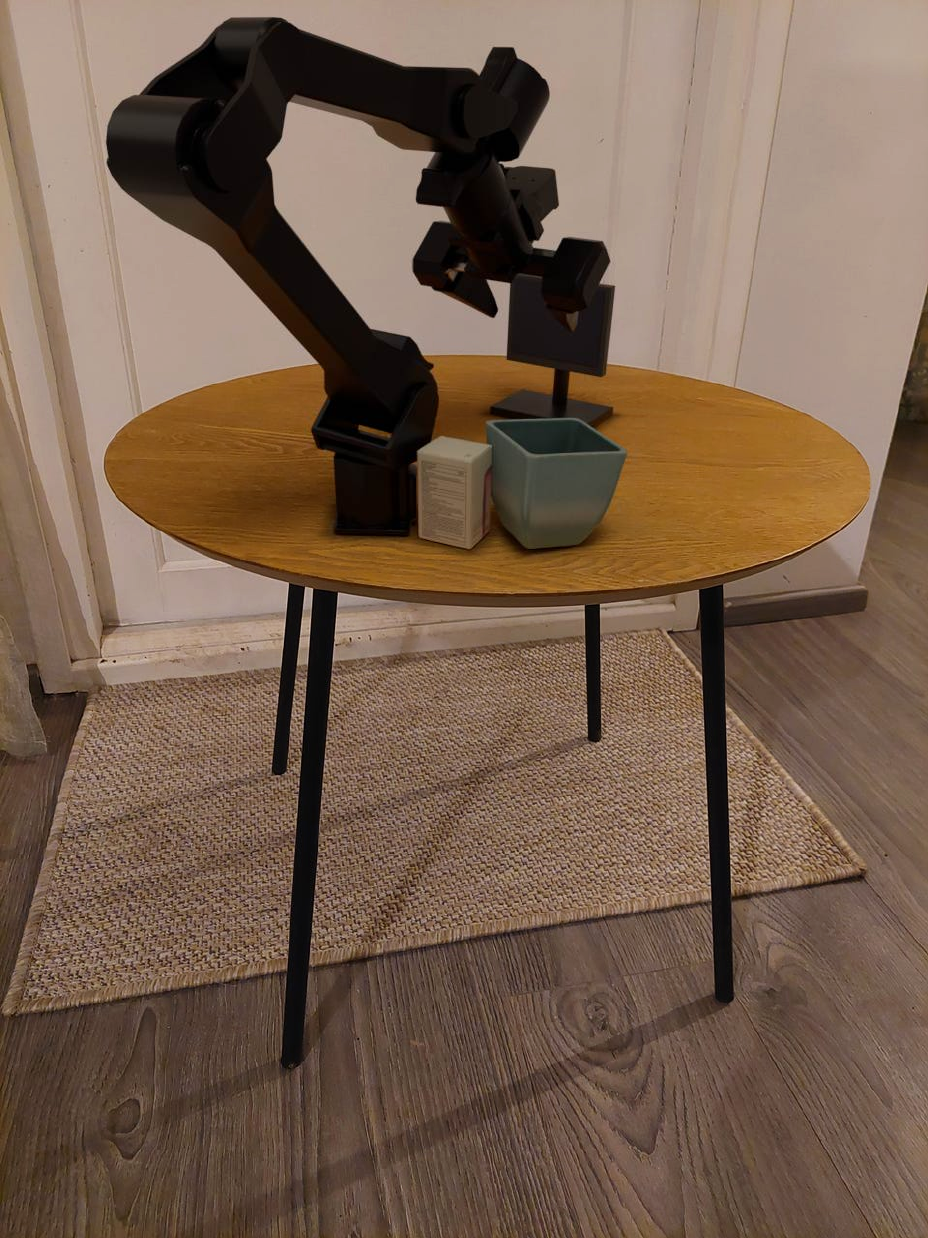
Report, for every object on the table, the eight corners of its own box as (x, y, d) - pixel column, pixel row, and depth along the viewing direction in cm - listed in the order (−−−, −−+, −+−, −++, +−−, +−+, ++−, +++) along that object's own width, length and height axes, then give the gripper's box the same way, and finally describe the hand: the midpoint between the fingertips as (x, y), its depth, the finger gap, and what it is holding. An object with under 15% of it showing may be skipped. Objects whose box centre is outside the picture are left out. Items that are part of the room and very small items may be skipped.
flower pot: (563, 512, 82) (578, 415, 78) (611, 554, 75) (630, 450, 71) (474, 519, 79) (484, 419, 75) (516, 564, 72) (529, 456, 68)
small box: (491, 531, 78) (495, 443, 74) (469, 551, 75) (472, 461, 71) (439, 519, 80) (440, 433, 76) (416, 538, 77) (415, 449, 72)
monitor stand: (584, 434, 100) (590, 368, 96) (489, 414, 105) (492, 350, 101) (612, 415, 106) (619, 352, 102) (521, 396, 111) (525, 336, 107)
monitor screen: (601, 377, 99) (610, 287, 95) (505, 360, 105) (509, 273, 100) (606, 375, 100) (615, 285, 95) (511, 357, 106) (515, 271, 101)
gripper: (615, 137, 75) (650, 267, 88) (433, 125, 84) (490, 245, 97) (559, 246, 73) (603, 362, 86) (378, 222, 82) (444, 331, 95)
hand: (533, 320), depth 91 cm, fingers open, 9 cm apart
